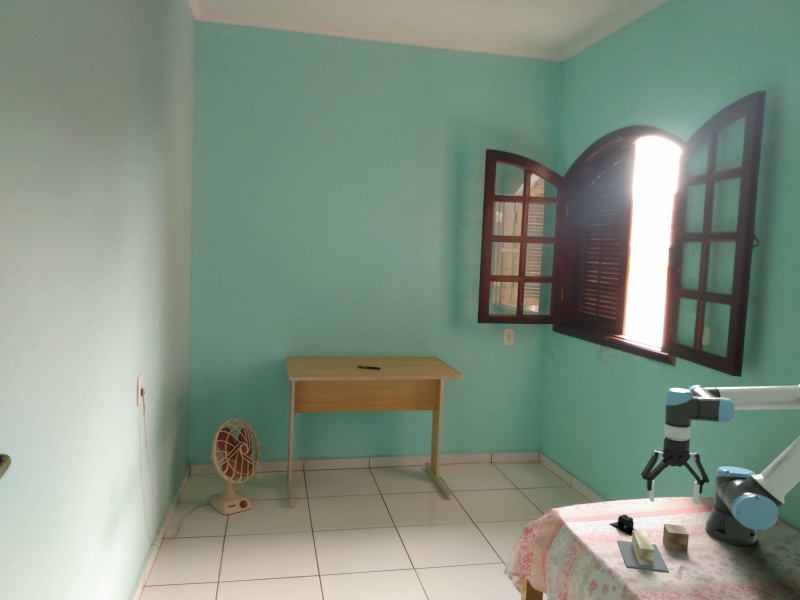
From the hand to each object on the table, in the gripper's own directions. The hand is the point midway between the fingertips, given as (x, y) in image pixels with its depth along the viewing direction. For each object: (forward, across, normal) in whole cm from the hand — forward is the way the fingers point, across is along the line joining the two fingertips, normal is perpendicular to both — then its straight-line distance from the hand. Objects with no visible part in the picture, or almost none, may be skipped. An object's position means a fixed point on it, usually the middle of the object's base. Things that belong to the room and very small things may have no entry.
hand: (673, 501), depth 197 cm
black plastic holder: (+16, +12, -10) cm, 22 cm away
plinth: (+14, +11, +8) cm, 20 cm away
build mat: (+15, +11, +8) cm, 20 cm away
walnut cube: (+15, -1, 0) cm, 15 cm away
